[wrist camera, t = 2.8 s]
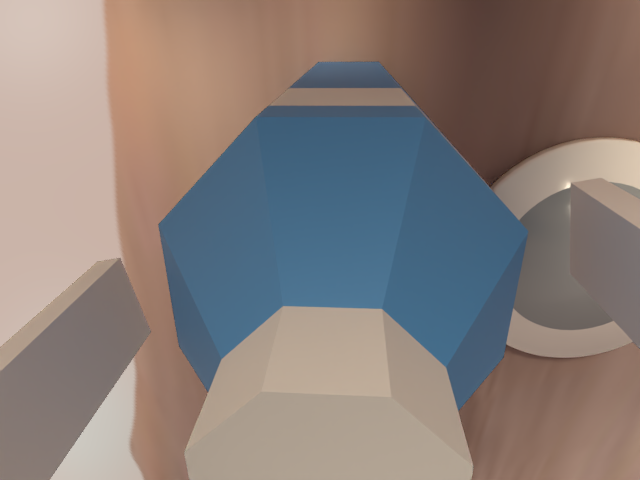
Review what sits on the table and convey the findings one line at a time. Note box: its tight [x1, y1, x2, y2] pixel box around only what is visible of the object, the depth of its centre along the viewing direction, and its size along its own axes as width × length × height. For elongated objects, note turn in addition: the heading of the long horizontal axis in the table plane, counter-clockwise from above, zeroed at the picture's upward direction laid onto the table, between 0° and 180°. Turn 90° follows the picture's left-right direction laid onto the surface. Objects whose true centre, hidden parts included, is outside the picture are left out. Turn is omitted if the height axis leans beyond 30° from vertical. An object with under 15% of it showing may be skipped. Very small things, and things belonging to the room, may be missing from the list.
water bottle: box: [158, 62, 528, 480], centre depth 18 cm, size 9×9×25 cm
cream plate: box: [490, 137, 640, 358], centre depth 31 cm, size 16×16×1 cm
